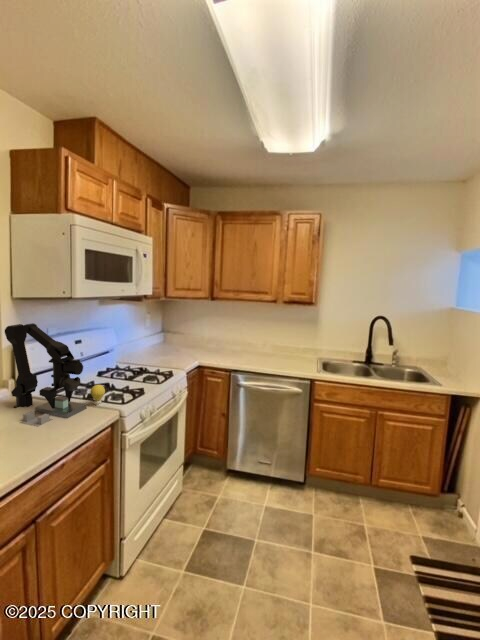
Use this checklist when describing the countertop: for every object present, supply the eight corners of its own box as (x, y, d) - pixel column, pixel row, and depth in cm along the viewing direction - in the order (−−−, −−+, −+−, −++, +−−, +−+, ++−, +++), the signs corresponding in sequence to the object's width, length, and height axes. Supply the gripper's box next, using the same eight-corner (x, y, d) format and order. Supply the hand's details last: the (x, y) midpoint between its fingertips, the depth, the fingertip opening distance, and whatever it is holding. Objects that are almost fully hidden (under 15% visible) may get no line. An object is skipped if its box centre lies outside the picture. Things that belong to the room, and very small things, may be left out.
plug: (54, 412, 164) (54, 398, 163) (59, 410, 167) (59, 396, 166) (63, 414, 163) (63, 399, 162) (68, 411, 166) (67, 397, 165)
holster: (19, 424, 150) (18, 416, 150) (35, 417, 158) (34, 409, 157) (37, 428, 148) (37, 419, 147) (53, 421, 155) (52, 412, 155)
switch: (35, 413, 162) (35, 407, 161) (56, 404, 173) (55, 398, 173) (67, 420, 157) (67, 413, 156) (86, 410, 168) (86, 403, 167)
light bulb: (100, 407, 172) (99, 387, 170) (87, 406, 173) (87, 386, 172) (107, 402, 178) (107, 383, 177) (96, 401, 179) (95, 382, 178)
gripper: (58, 380, 151) (59, 415, 153) (89, 369, 169) (89, 400, 171) (37, 377, 154) (39, 411, 156) (69, 366, 172) (70, 397, 174)
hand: (61, 404), depth 164 cm, fingers open, 9 cm apart
